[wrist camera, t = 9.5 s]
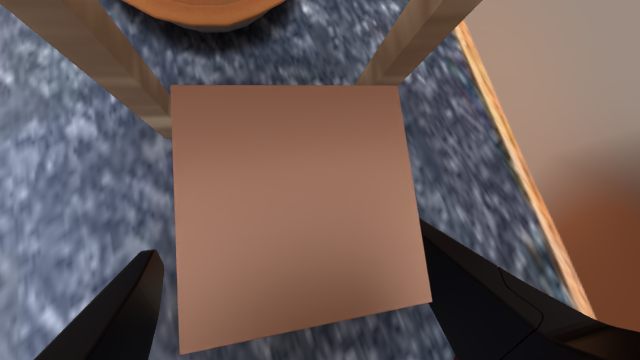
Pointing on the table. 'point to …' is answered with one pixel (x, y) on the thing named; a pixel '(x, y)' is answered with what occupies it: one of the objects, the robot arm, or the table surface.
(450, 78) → the table surface
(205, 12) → the pie
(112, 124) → the table surface
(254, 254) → the block
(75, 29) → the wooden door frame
